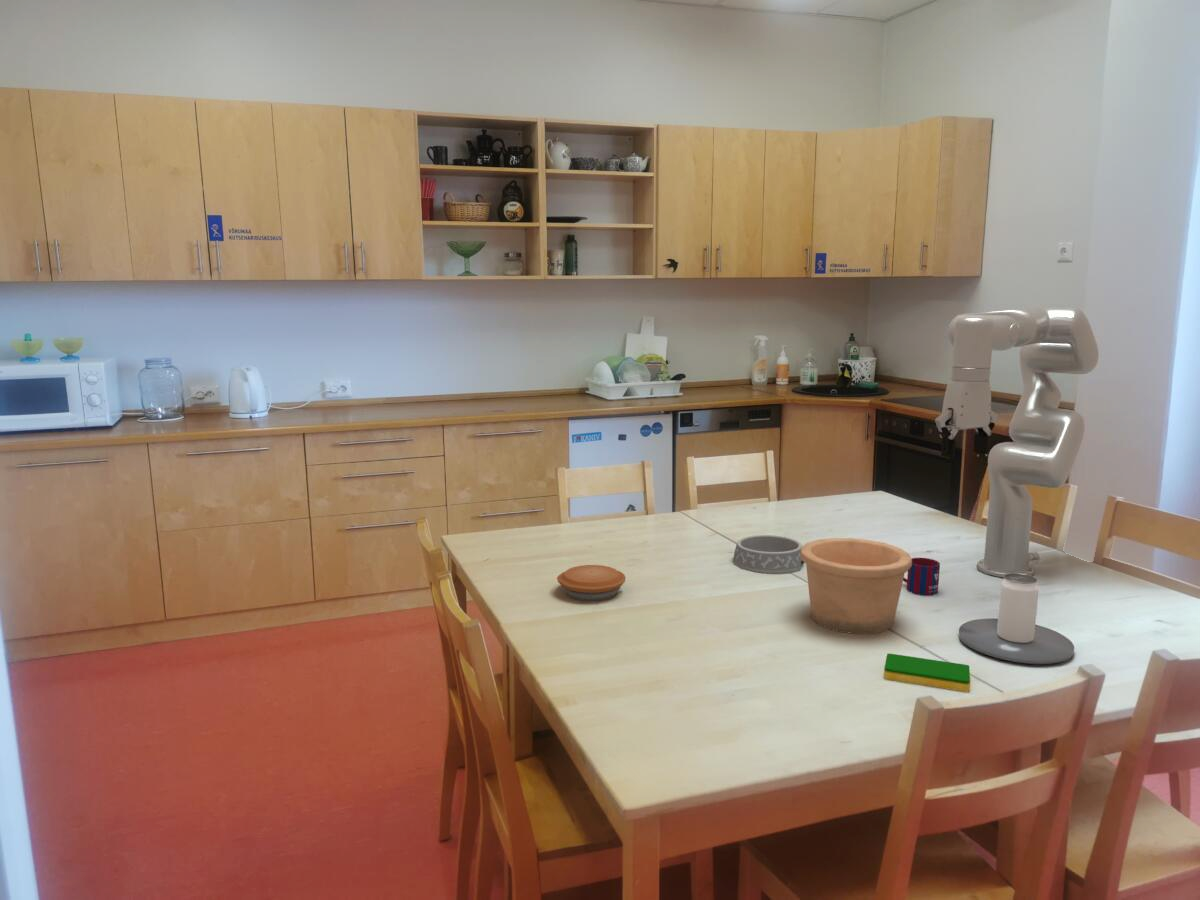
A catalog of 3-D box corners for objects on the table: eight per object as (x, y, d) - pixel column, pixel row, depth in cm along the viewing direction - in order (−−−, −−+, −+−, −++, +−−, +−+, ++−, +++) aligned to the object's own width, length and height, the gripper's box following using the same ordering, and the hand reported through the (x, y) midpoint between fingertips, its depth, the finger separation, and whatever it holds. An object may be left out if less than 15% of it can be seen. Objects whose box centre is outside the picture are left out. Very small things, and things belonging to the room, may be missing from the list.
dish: (1006, 618, 178) (1007, 612, 178) (1097, 654, 160) (1098, 647, 160) (935, 635, 170) (936, 628, 169) (1023, 675, 152) (1024, 667, 152)
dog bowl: (726, 570, 210) (727, 549, 209) (743, 549, 227) (744, 530, 226) (796, 578, 204) (797, 557, 203) (808, 557, 221) (809, 537, 220)
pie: (636, 586, 198) (636, 565, 197) (609, 608, 184) (609, 586, 183) (576, 577, 204) (575, 557, 203) (545, 598, 190) (545, 577, 190)
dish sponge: (968, 694, 146) (970, 681, 145) (883, 680, 151) (884, 668, 150) (968, 677, 152) (969, 664, 152) (886, 664, 157) (887, 652, 157)
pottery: (850, 647, 164) (854, 575, 161) (776, 610, 183) (778, 545, 180) (930, 627, 174) (935, 559, 171) (852, 594, 193) (856, 532, 190)
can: (990, 631, 168) (995, 573, 166) (1021, 630, 168) (1026, 572, 166) (1008, 644, 161) (1013, 584, 159) (1041, 643, 162) (1046, 583, 160)
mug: (926, 597, 190) (928, 568, 189) (888, 585, 198) (889, 557, 197) (943, 591, 194) (946, 562, 193) (905, 580, 202) (907, 552, 201)
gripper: (984, 372, 189) (978, 449, 192) (926, 375, 181) (921, 455, 184) (1014, 375, 182) (1007, 454, 185) (954, 379, 175) (948, 461, 178)
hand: (964, 454), depth 185 cm, fingers open, 9 cm apart
